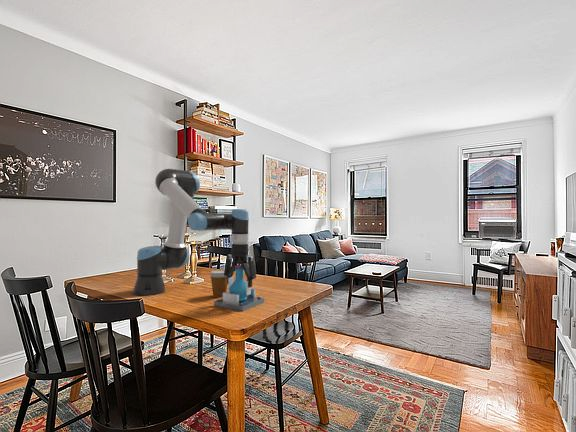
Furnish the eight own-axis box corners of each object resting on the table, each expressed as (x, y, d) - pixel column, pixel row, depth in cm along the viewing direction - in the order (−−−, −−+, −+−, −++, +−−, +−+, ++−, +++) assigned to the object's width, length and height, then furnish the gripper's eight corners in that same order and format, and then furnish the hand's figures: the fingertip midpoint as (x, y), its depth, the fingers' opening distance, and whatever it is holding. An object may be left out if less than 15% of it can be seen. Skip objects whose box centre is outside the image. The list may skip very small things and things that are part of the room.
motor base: (213, 305, 143) (213, 292, 143) (236, 297, 157) (236, 285, 157) (242, 311, 135) (242, 296, 135) (264, 302, 149) (264, 289, 149)
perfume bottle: (229, 296, 150) (230, 263, 150) (249, 296, 151) (250, 263, 151) (227, 301, 141) (228, 267, 141) (249, 301, 141) (249, 267, 141)
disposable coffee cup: (224, 298, 155) (225, 273, 155) (206, 297, 157) (206, 272, 157) (232, 294, 164) (232, 270, 164) (214, 292, 166) (214, 269, 166)
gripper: (215, 242, 148) (215, 291, 148) (254, 245, 137) (254, 298, 137) (226, 241, 154) (226, 288, 154) (264, 244, 143) (264, 294, 144)
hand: (239, 293), depth 146 cm, fingers closed on perfume bottle, 9 cm apart
